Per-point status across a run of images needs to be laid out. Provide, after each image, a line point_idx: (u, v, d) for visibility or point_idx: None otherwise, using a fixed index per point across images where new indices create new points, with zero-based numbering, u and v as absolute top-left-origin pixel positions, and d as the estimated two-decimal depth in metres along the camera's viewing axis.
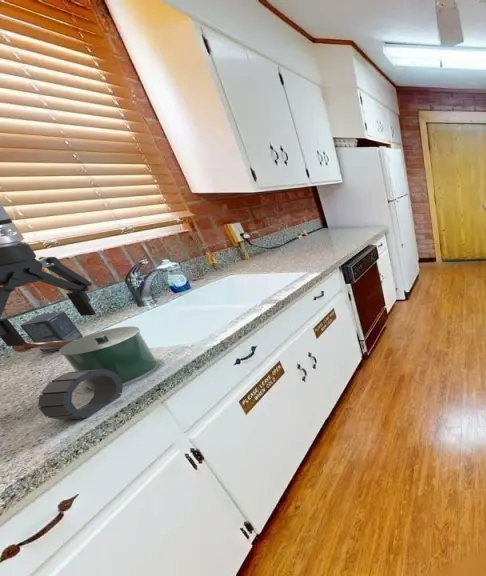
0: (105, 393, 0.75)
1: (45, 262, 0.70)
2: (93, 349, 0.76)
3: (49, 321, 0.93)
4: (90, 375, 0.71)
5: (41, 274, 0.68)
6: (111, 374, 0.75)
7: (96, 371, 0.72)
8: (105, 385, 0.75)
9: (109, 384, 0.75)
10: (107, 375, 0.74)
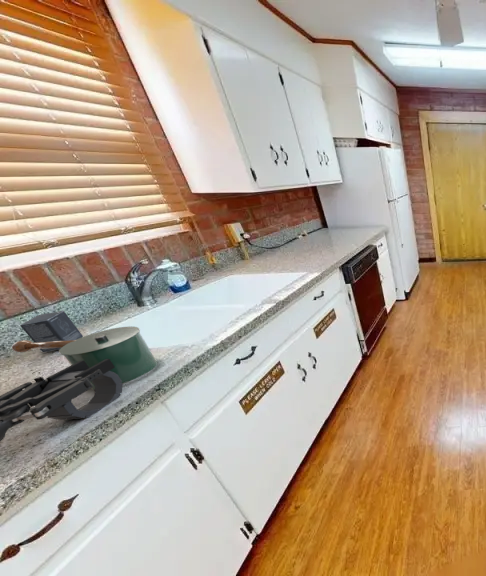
0: (105, 393, 0.75)
1: None
2: (93, 349, 0.76)
3: (49, 321, 0.93)
4: None
5: None
6: (111, 374, 0.75)
7: None
8: (105, 385, 0.75)
9: (109, 384, 0.75)
10: (107, 375, 0.74)
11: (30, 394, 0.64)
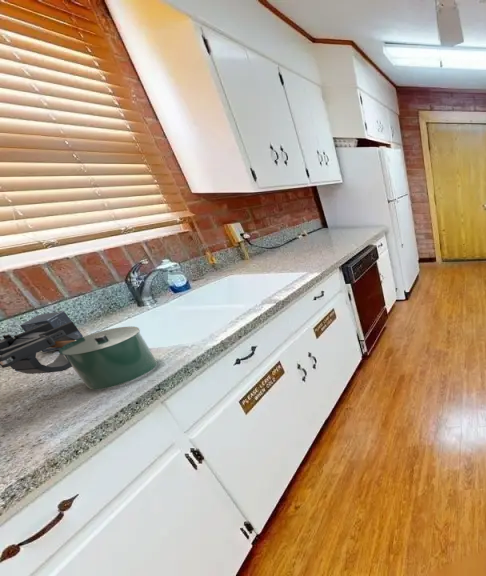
0: None
1: None
2: (93, 349, 0.76)
3: (49, 321, 0.93)
4: None
5: None
6: (74, 336, 0.83)
7: None
8: None
9: None
10: (70, 336, 0.83)
11: None
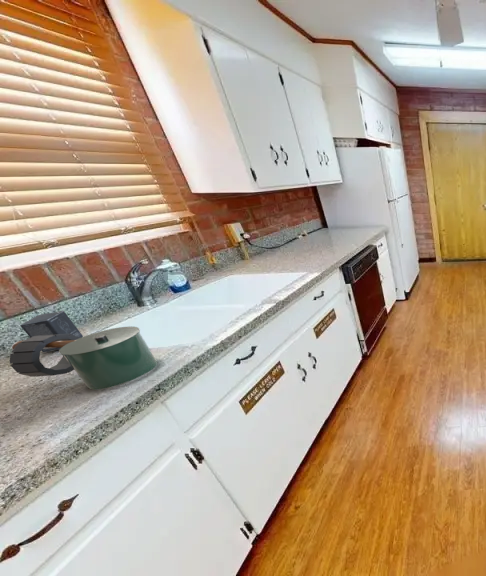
0: None
1: None
2: (93, 349, 0.76)
3: (49, 321, 0.93)
4: (56, 338, 0.80)
5: None
6: (77, 338, 0.84)
7: (62, 335, 0.81)
8: None
9: None
10: (73, 339, 0.83)
11: None
